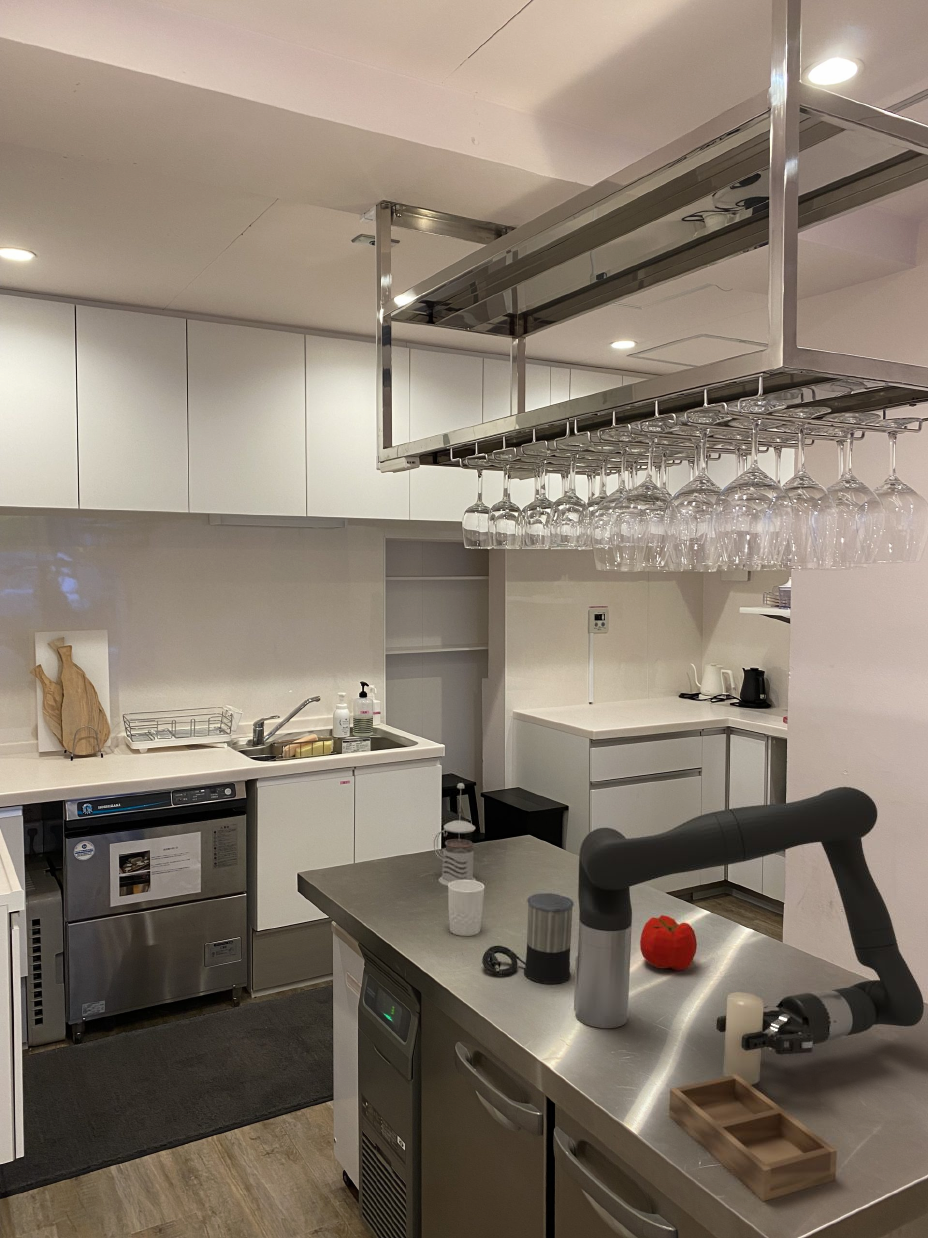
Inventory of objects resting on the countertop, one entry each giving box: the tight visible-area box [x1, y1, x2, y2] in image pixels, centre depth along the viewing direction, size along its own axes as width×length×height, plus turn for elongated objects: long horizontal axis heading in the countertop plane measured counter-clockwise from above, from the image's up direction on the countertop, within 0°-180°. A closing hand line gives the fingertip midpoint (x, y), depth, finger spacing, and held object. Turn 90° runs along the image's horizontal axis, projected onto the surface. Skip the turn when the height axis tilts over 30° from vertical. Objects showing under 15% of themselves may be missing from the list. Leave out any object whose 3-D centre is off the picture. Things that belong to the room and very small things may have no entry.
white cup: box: [447, 880, 485, 937], centre depth 206 cm, size 8×8×10 cm
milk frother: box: [481, 892, 575, 985], centre depth 185 cm, size 14×16×15 cm
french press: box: [433, 782, 477, 887], centre depth 240 cm, size 10×12×25 cm
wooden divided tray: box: [668, 1074, 838, 1202], centre depth 131 cm, size 20×12×4 cm, turn 23°
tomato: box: [639, 914, 698, 971], centre depth 192 cm, size 11×12×9 cm
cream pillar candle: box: [722, 991, 765, 1086], centre depth 147 cm, size 5×5×12 cm
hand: (730, 1034), depth 145 cm, fingers closed on cream pillar candle, 5 cm apart
